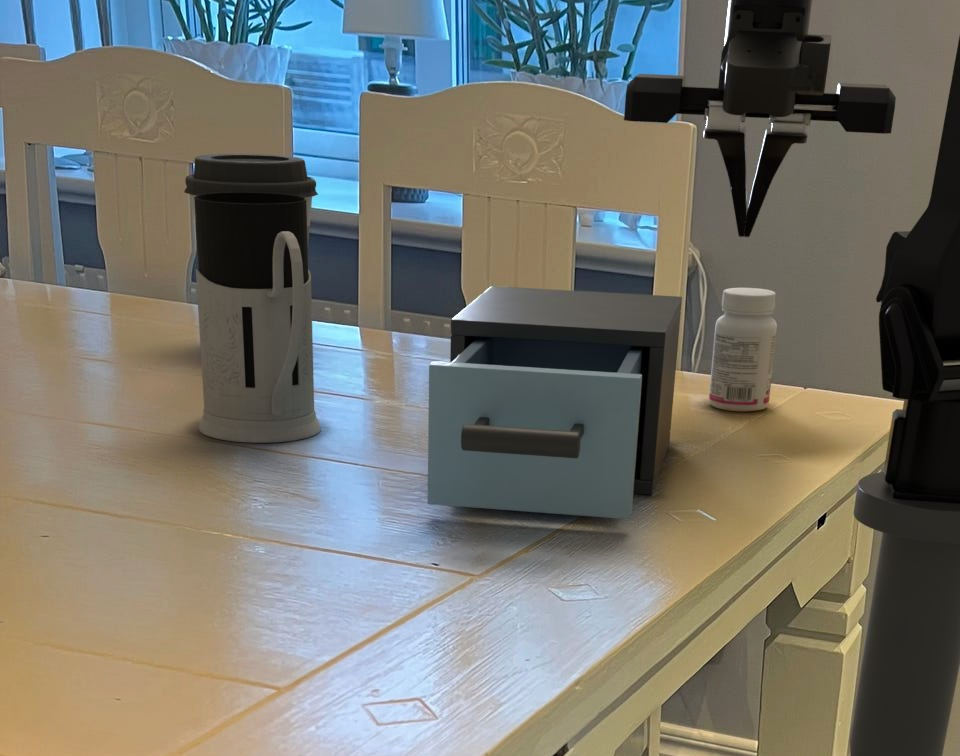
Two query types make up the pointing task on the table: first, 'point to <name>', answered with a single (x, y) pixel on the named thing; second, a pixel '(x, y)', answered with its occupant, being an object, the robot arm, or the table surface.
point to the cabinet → (596, 323)
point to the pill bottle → (743, 350)
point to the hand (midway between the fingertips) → (744, 236)
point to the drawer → (536, 427)
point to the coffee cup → (251, 176)
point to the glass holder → (255, 317)
